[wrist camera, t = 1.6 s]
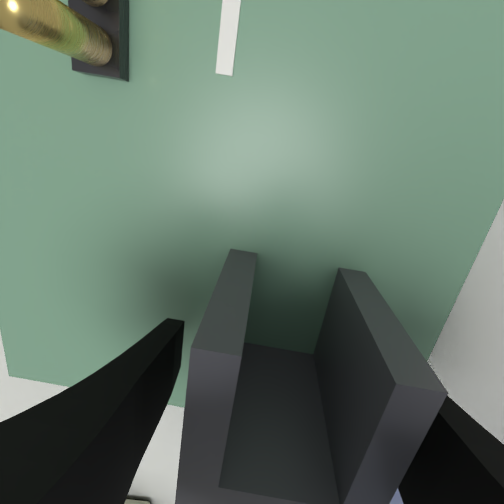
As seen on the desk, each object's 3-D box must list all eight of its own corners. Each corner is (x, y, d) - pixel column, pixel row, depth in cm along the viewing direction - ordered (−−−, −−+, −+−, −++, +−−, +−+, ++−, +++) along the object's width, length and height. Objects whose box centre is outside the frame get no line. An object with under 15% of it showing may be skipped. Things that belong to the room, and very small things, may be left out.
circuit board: (379, 420, 15) (388, 446, 14) (28, 358, 15) (7, 377, 14) (623, -136, 8) (689, -187, 6) (-63, -243, 8) (-125, -313, 7)
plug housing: (322, 403, 13) (353, 571, 8) (211, 383, 13) (171, 538, 8) (365, 271, 11) (448, 393, 6) (230, 248, 11) (190, 347, 6)
